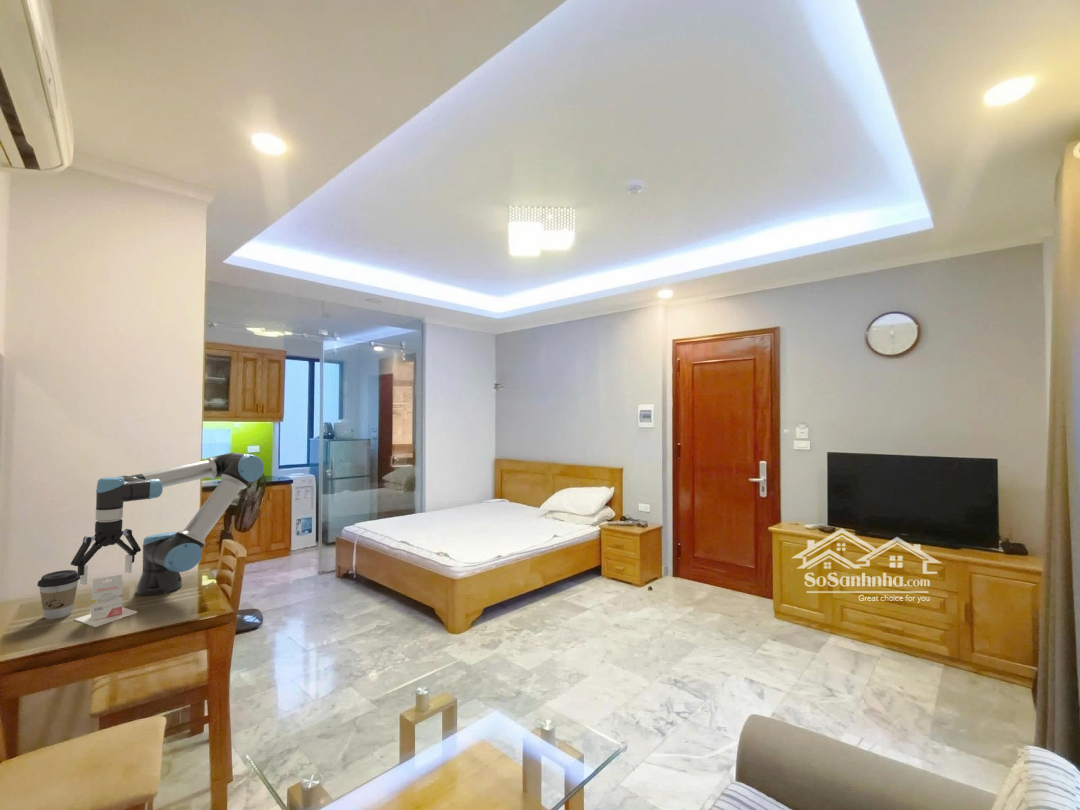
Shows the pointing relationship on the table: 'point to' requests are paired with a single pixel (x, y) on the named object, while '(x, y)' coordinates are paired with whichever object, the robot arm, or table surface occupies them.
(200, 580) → the table surface
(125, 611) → the pad
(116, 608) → the ink cartridge box
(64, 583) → the coffee cup
